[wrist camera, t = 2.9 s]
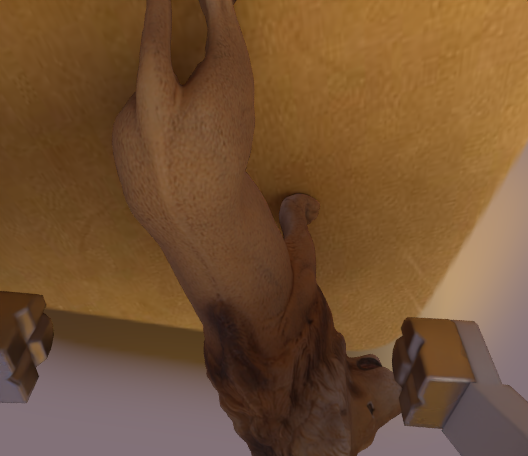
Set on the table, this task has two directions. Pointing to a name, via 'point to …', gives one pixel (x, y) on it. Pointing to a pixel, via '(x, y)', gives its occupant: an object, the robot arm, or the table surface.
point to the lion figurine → (241, 251)
